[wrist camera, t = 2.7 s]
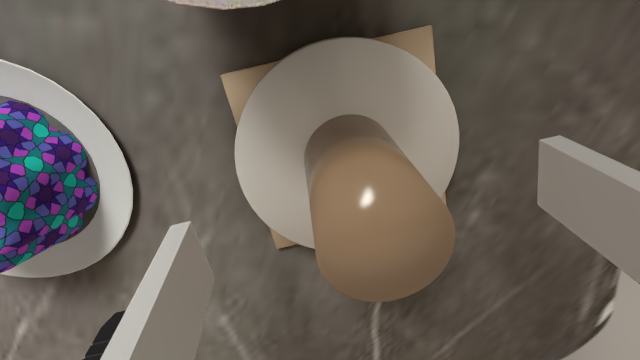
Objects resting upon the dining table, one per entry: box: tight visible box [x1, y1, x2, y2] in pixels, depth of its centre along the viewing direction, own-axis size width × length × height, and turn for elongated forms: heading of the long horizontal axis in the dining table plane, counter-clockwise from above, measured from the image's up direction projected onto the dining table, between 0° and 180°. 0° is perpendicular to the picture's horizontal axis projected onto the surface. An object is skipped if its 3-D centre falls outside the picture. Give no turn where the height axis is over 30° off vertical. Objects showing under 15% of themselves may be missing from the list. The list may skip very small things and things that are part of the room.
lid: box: [235, 37, 459, 302], centre depth 16 cm, size 11×11×9 cm
